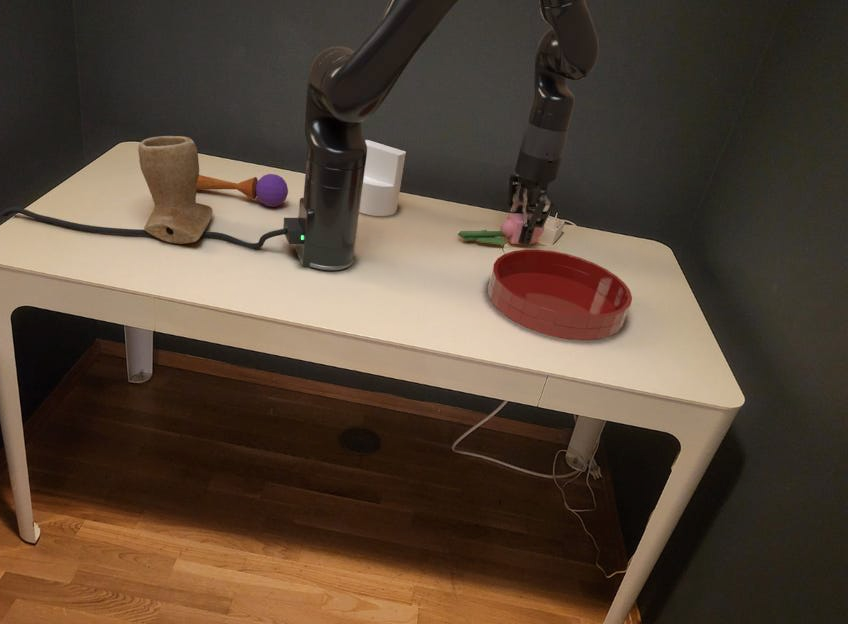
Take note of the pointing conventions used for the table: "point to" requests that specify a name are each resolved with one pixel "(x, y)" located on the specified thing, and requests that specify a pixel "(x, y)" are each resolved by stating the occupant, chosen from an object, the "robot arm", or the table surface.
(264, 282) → the table surface
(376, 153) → the base with upright slab
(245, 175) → the table surface
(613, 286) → the bowl
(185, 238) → the stone cup
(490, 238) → the tulip
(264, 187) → the kendama
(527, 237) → the robot arm
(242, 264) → the table surface
